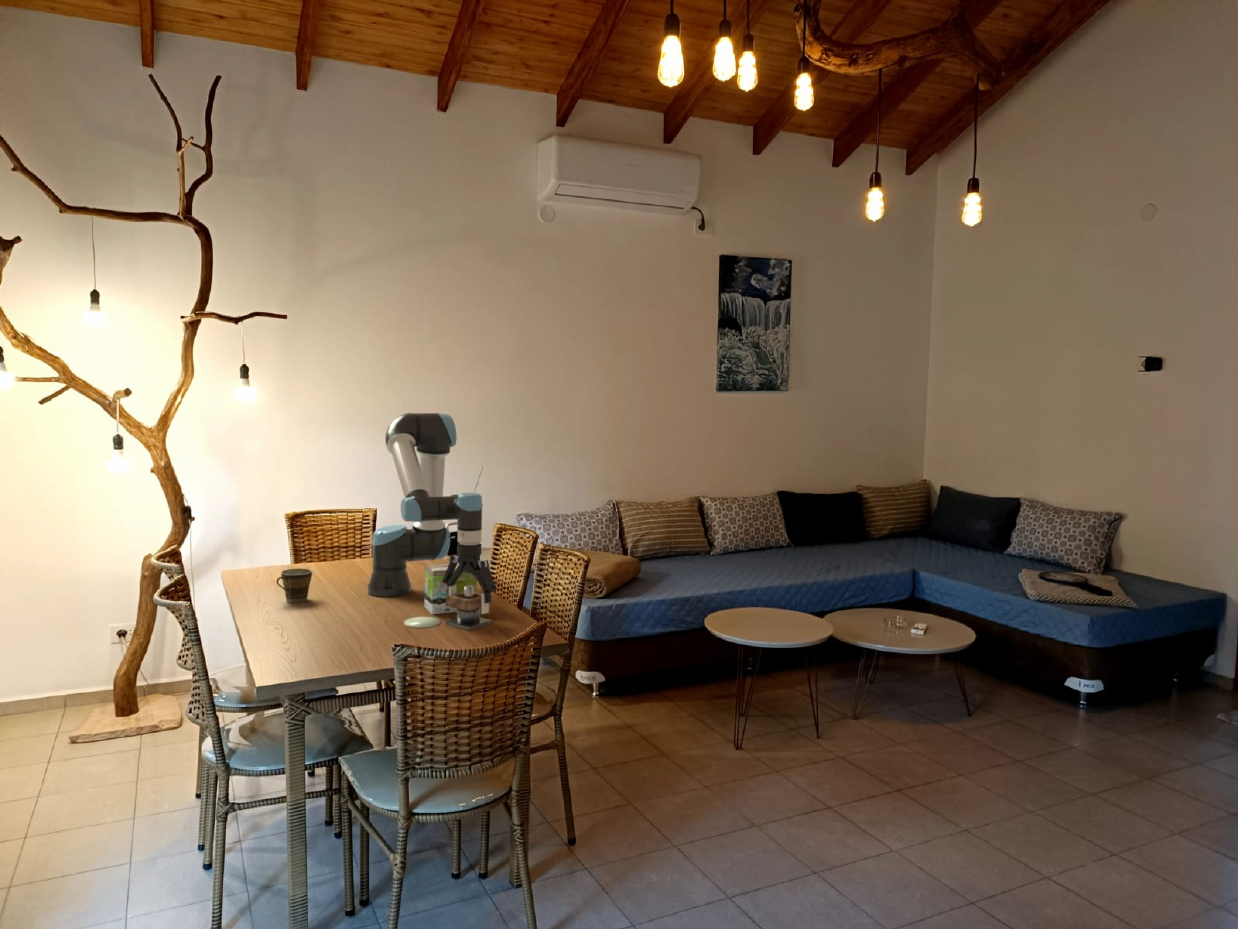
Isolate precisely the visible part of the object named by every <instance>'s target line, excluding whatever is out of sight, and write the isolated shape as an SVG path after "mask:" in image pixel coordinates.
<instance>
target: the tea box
mask: <svg viewBox="0 0 1238 929" xmlns="http://www.w3.org/2000/svg"><path fill="white" fill-rule="evenodd" d="M448 566H449V563H445V564H443V563H442V564H428V565H427V564H426V565H425V575H424V576H425V578H424V603H423V605H424V608H425V609H426V610H427V611H428V613H430V614H431V615H438V614H450V613H457V608H453V607H449V606H446V596H448V594H447V584H445V583H443V582H442V580H443V578H444V575H445V573H446V570H447V568H448ZM458 566H459V563H457V566H456V568H457V567H458ZM456 568H455V571H456ZM455 571H454V572H455ZM453 574H454V573H453ZM477 583H478V581H477V579H476V578H475V576H474V575H473V574H472V573H468V572H463V573H462V574H461V576H460V577H459V578H458V580H457V581H456V582H455V584H454V585H456V593H460V592H463V591H464V586H467V585H471V586H473V592H477V587H478V586H477V585H478V584H477Z"/></svg>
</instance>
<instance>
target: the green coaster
mask: <svg viewBox="0 0 1238 929" xmlns="http://www.w3.org/2000/svg"><path fill="white" fill-rule="evenodd" d="M403 623H404V626H405V627H408V628H415V629H422V628H425V629H426V628H432V627H436V626H438V625H440V623H441V620H440V619H439V618H437V617H432V616H416V617H411V618H410V617H409V618H408V619H405V620H404V621H403Z"/></svg>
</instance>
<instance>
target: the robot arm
mask: <svg viewBox="0 0 1238 929" xmlns="http://www.w3.org/2000/svg"><path fill="white" fill-rule="evenodd" d="M456 428H457V427H456V423H455V421H454V419H453V417H452V416H451V415H450V414H447V413H439V412H432V413H428V412H426V413H425V412H423V413H421V412H420V413H418V412H416V413H415V412H407V413H404V414H403V413H402V414H400V415H399V416H397V417H396V418H395V419H393V420H392V421H391V423H390V425H388V427H387V429H386V434H385V445H386V448H387V451H388V452H389V453H390V454H391V456H392V458H393V461H394V466H395V470H396V472H397V475H398V479H399V482H400V486H401V489H402V492H403V495H404V498H402V499H401V502H400V516H401V519H402V520H403V521H405V522H412V528H407V526H406V525H403V524H395V525H394V524H393V525H387V526H383V527H380V528H378V529H376V530H375V531H374V532H373V534H372V542H371V545H372V571H371V575H370V579H369V583H368V584H367V588H366V590H367V594H368V595H371V596H374V597H385V598H386V597H398V596H405V595H408V594H409V593H411V592H412V584H411V583H412V582H410V578H409V574H408V571H407V562H409V563H410V562H418V561H421V562H423V561H436V560H442V559H444V558H445V557H446V556H447V555H448V553H449V548H450V544H451V538H450V536H451V533H450V532H451V531H450V530H449V528H448V527H446V523H445V522H444V521H450V520H451V521H452V520H457V521H456V522H457V523H456V524H457V528H456V529H457V532H456V533H457V534H456V535H457V538H456V539H457V544H456V554H453V555H451V556H450V557H449V563H448V564H449V566H448V568H447V570H446V573H445V575H444V578H443V580H442V582H443V583H445V584H447V594H448V596H449V595H453V594H456V585H454V584H455V582H456V581H457V580H458V578H459V577H460V576H461V574H462V573H463V572H468V573H472V574H473V575H474V576H475V578H476V579H477V583H478V585H479V586H480V588H481V590H482V591H483V592H481V593H482V600H481V608H480V615H485V614H489V613H490V605H489V603H490V602H491V603H492V595H491V594H492V593H493V592H496V591H497V586H496V584H495V581H494V579H493V575H492V573H491V569H490V567H489V566H490V565H489V564H490V563H489V560H488V559H486V560H481V555H482V546H483V545H482V543H481V542H482V541H483V539H482V531H483V530H482V529H483V528H482V527H483V526H482V525H483V507H484V506H483V505H484V504H483V498H482V495H481V494H480V493H475V492H461V493H459V494H451V495H449V496H448V495H447V496H444V482H445V467H446V466H445V465H446V464H445V463H446V456H449V454H450V452H451V448H453V447H455V446H456V444H457V435H458V434H457V429H456ZM415 447H416V448H415ZM416 452H417V453H418V454H419V455H420V459H418V456H417V453H416ZM419 460H420V462H419ZM457 563H459V566H458V567H457V568H456V566H457ZM455 568H456V571H455ZM454 571H455V572H454ZM453 573H454V574H453Z"/></svg>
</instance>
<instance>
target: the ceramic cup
mask: <svg viewBox="0 0 1238 929" xmlns="http://www.w3.org/2000/svg"><path fill="white" fill-rule="evenodd" d="M280 575H281V576H278V578H277V579H276V585H277V586H278V587H279V588H281V589H282V590H283V591H284V594H285V599H286V600H285V601H286V602H287V603H290V602H291V603H290V604H297V603H298V604H299V602H300V603H303V602H307V600H308V595H309V590H310V584H311V581H312V576H313V570H312V569H309V568H301V567H298V568H289V569H285V570H282V571H280ZM280 580H281V581H282V585H281V584H280V583H279V581H280Z"/></svg>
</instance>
